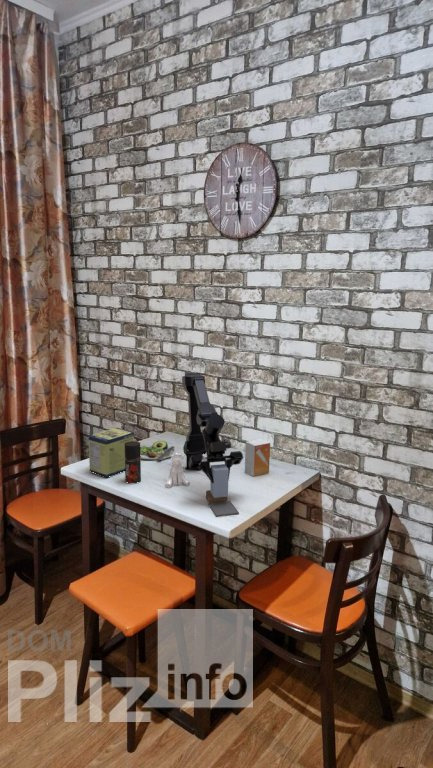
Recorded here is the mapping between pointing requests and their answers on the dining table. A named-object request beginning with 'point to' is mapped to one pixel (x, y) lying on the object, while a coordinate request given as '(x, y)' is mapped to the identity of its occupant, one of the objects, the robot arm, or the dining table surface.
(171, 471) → the white creature statuette
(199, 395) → the robot arm
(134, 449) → the deodorant
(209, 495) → the walnut plinth
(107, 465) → the protein box
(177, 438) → the dining table surface
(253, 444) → the small box
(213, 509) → the charcoal felt mat
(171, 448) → the salad plate
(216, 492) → the slate-blue block
